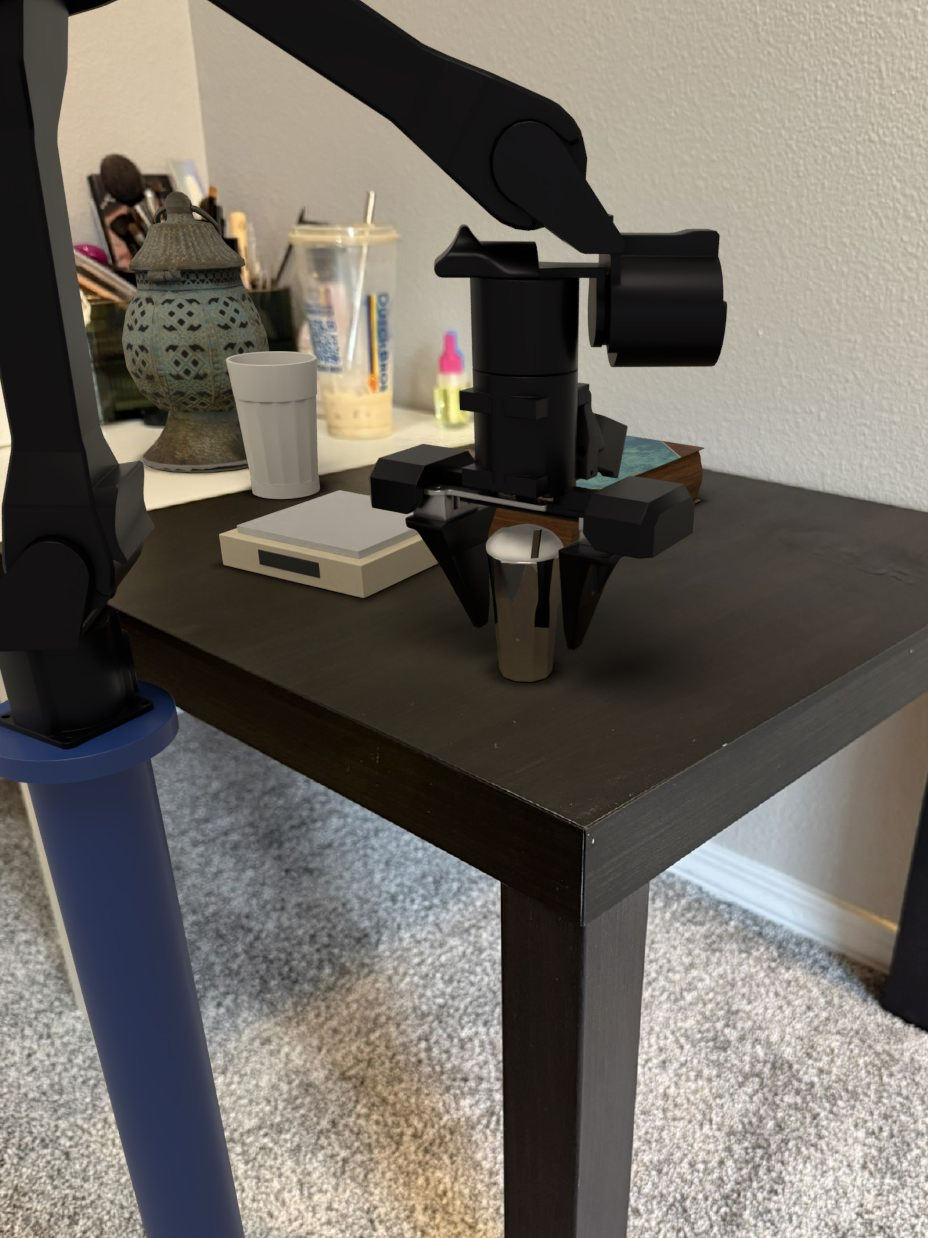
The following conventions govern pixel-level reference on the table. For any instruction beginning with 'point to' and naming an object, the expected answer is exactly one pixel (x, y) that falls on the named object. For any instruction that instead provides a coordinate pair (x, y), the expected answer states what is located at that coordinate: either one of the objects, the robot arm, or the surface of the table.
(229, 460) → the lantern
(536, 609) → the milkshake
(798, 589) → the table surface
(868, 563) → the table surface
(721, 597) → the table surface
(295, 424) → the cup
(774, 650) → the table surface
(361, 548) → the scale
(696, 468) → the book
